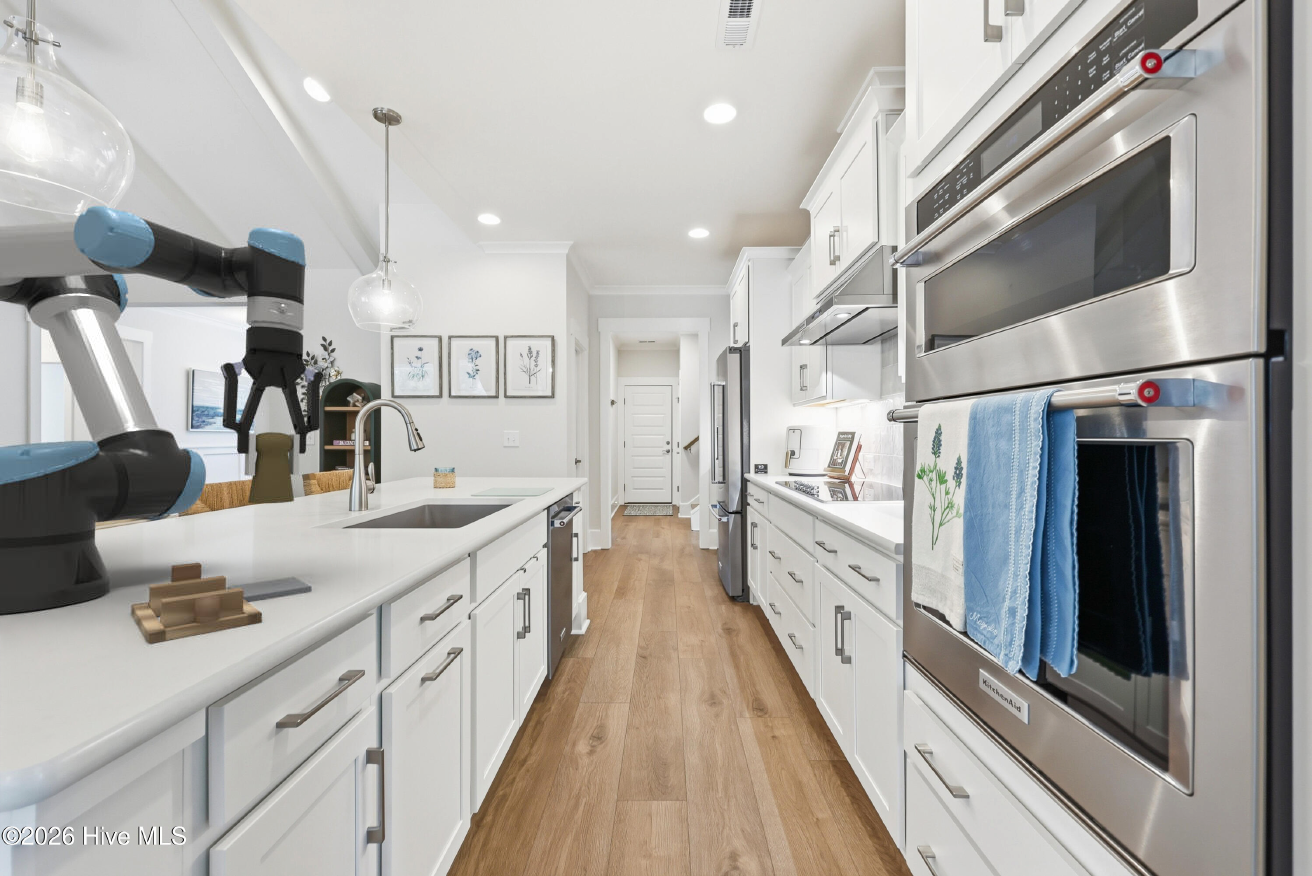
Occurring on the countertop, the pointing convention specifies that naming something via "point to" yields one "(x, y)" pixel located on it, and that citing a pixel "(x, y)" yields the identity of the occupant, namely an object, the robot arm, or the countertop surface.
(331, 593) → the countertop surface
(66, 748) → the countertop surface
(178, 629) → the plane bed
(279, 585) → the slate coaster
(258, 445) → the cork
